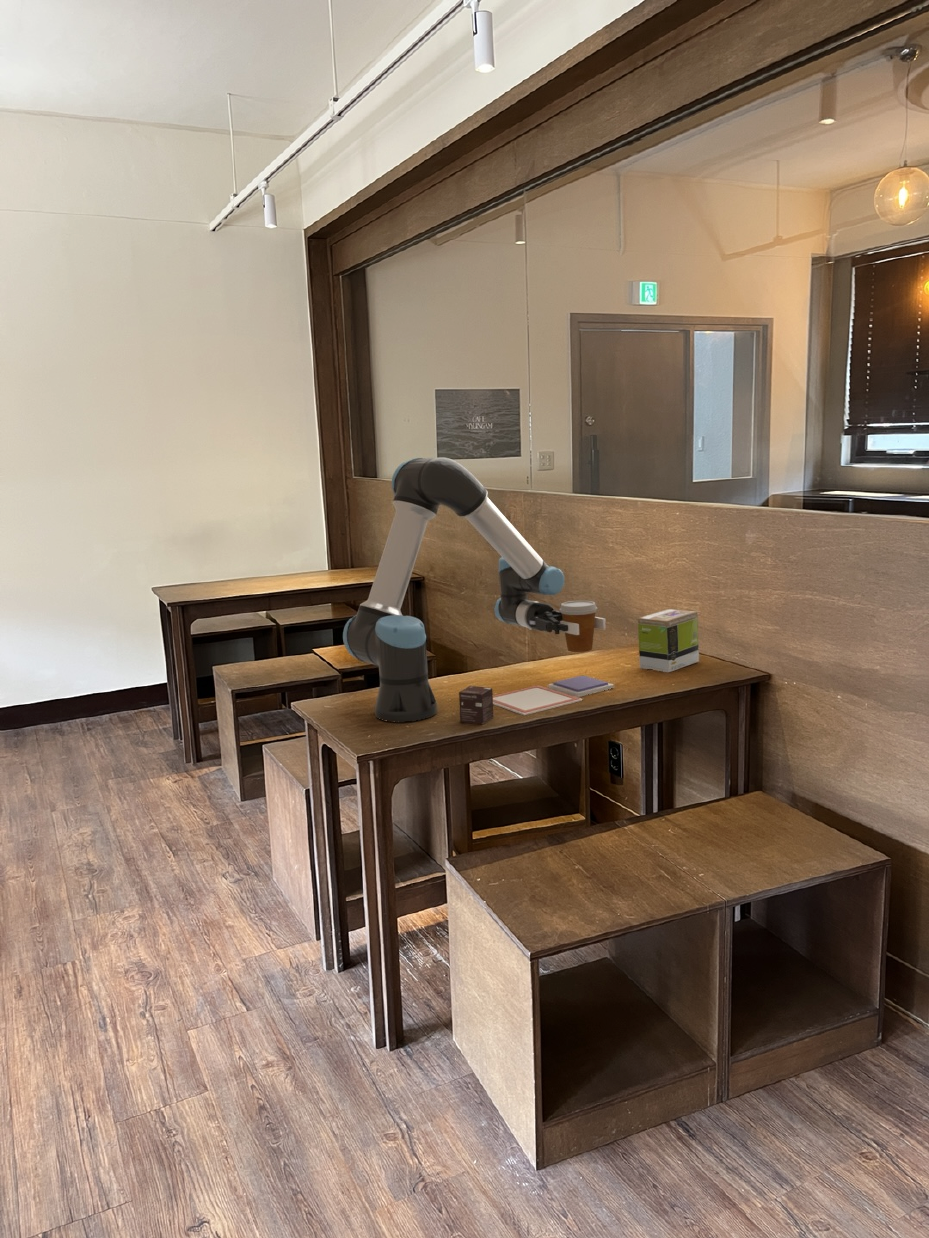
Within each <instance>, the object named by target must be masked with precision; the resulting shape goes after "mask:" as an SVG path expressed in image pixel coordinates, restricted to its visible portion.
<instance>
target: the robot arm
mask: <svg viewBox="0 0 929 1238" xmlns="http://www.w3.org/2000/svg"><path fill="white" fill-rule="evenodd" d="M391 489H392V491H393V495H394V497H393V500H392V505H393V507H394V509H395V513H394V515H393V519H392V522H391V526H390V529H389V532H388V535H387V539H386V542H385V546H384V549H383V552H382V554H381V558H380V560H379V563H378V567H377V569H376V574H375V577H374V580H373V582H372V584H371V585H372V586H371V589H370V592H369V595H368V598H367V600H365V601H363V602H362V603H360V604H359V607H358V610H357V613H356V614H355V615H353V617H351V618H349V619H348V620H347V621H346V623H345V625H344V628H343V632H342V640H343V644H344V647H345V650H346V651H347V652H348V654H349V655H350V656H351V657H353V658H355V659H357V660H358V661H360V662H363V663H366V664H371V665H374V666H377V667H378V672H379V689H378V692H377V696H376V700H375V701H376V702H375V705H374V715H376V716H375V718H376V717H377V718H380V719H383V720H387V721H395V722H394V723H405V722H404V721H412V722H416V720H418V721H422V720H421V719H423V720H426V719H429V718H431V717H433V716H435V715H437V713H438V702H437V699H436V697H435V694H434V692H433V690H432V687H431V684H430V682H429V675H428V673H429V671H428V656H427V655H428V653H427V641H426V640H427V634H426V630H425V624H424V623H423V621H421V619H419V618H417V617H415V616H410V615H403V614H402V611H401V608H402V607H403V606H402V605H403V602H404V599H405V596H406V592H407V589H408V587H409V583H410V580H411V577H412V574H413V571H414V567H415V564H416V560H417V557H418V555H419V551H420V547H421V545H422V542H423V539H424V536H425V531H426V529H427V527H428V522H429V521H430V520H433V519H434V518H436V517H437V514H438V510H439V508H440V505H441V506H444V507H446V508H448V509H450V510H452V511H453V512H454V513H455V514H456V516H458V517H459V518H465V519H466V521H468V522H469V523H470V524H471V525H472V527H473V528H475V529H476V531H477V532H478V533H479V534H480V535H481V536H482V537H483V538H484V539H485V540H486V542H488V543H489V545H490V546H491V547H492V548H493V549H494V550H495V551H496V552H497V554H498V555H500V556H501V557H500V558H498V571H497V572H498V577H499V587H500V588H499V590H500V597H499V598H498V599H497V601H496V602H495V605H494V609H493V610H494V615H495V617H496V618H497V619H498V620H499V621H500V622H503V623H505V624H507V625H512V626H519V627H522V628H527V629H528V630H529V631H530V630H531V631H532V629H533V630H535V631H536V630H537V631H539V632H544V631H545V632H546V633H552V632H554V635H560V632H561V633H564V634H565V633H569V634H574V635H579V624H576V623H571V622H566V621H563V618H562V613H561V611H560V610H556V609H554V608H553V606H552V605H550V604H549V603H545V602H540V601H535V600H529V599H528V593H531V594H537V595H543V596H555V595H557V594H559V593H560V592H561V591H562V590H563V588H564V585H565V575H564V572H563V570H561V569H560V568H557V567H555V566H552V565H551V566H550V565H548V564H547V562H545V560H544V559H543V558H542V557H541V556H540V555H539V553H537V551H536V550H535V549H534V548H533V547H532V545H531V544H529V542H528V541H527V540H526V539H525V538H524V536H523V535H521V533H520V532H519V531H518V530H517V529H516V527H515V526H514V525H513V524H512V523H511V522H510V521H509V520H508V519H507V517H505V515H504V514H503V513H502V512H501V511H500V510H499V508H498V507H497V506H496V505H495V503H493V501H491V499H489V497H488V490H487V488H486V487H485V486H484V485H483V484H482V483H481V481H480V480H479V479H478V478H476V477H475V476H474V474H473V473H471V472H470V470H468V469H467V468H466V467H464V466H463V464H461V463H459V462H457V461H455V460H454V459H451V458H448V457H443V456H442V457H441V456H439V457H431V458H429V457H428V458H425V457H424V458H423V457H416V458H412V459H409V460H405V461H404V462H402V463H401V464H399V465H398V466H397V467H396V469H395V470H394V472H393V474H392V478H391ZM606 621H607V619H606V618H604V617H598V616H595V623H594V629H599V630H602V631H603V630H606V629H607V625H606ZM377 718H376V719H377ZM425 718H426V719H425ZM387 721H386V722H387ZM398 721H399V722H398Z"/></svg>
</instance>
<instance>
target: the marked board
mask: <svg viewBox="0 0 929 1238" xmlns="http://www.w3.org/2000/svg"><path fill="white" fill-rule="evenodd" d="M582 700H583V698H581V697H575V696H572V695H569V694H565V693H562V692H559V691H556V690H552V689H549V688H548V687H545V686H541V685H539V684H538V685H537V684H536V685H534V686H533V685H532V686H528V687H524V688H521V689H520V688H519V689H515V690H511V691H508V692H503V693H499V694H495V695H493V706H496V707H499V708H502V709H505V710H508V711H510V712H513V713H516V714H518V715H521V716H527V715H532V714H536V713H539V712H543V711H548V710H552V709H554V708H558V707H563V706H564V707H565V706H567V705H570V704H571V705H572V704H574V703H579V702H583V701H582Z"/></svg>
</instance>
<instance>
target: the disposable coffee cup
mask: <svg viewBox="0 0 929 1238" xmlns="http://www.w3.org/2000/svg"><path fill="white" fill-rule="evenodd" d="M597 610H598V607H597V605H596V602H595V601H591V600H570V601H565V602H562V603H561V604H560V608H559V611H560V612H561V613H562V618H563V621H566V622H571V623H576V624H579V635H574V634H569V633H565V632H564V636H565V642H566V648H567V651H568V652H572V653H585V652H590V651H592V650H593V643H594V631H595V628H594V623H595V617H596V612H597Z"/></svg>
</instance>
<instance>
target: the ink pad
mask: <svg viewBox="0 0 929 1238" xmlns="http://www.w3.org/2000/svg"><path fill="white" fill-rule="evenodd" d="M547 688H548V689H552V690H555V691H558V692H561V693H565V694H568V695H571V696H574V697H578V698H581V697H585V696H588V694H589V695H593V694H596V693H600V692H604V690H605V691H609V690H612V689H611V688H613V689H614V688H615V684H614V683H609V681H604V680H602V679H597V678H594V677H590V676H586V675H583V674H582V675H579V676H578V675H577V676H574V677H570V678H565V679H561V680H556V681H554V682H552V683H548V684H547ZM608 689H609V690H608ZM592 693H593V694H592Z"/></svg>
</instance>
